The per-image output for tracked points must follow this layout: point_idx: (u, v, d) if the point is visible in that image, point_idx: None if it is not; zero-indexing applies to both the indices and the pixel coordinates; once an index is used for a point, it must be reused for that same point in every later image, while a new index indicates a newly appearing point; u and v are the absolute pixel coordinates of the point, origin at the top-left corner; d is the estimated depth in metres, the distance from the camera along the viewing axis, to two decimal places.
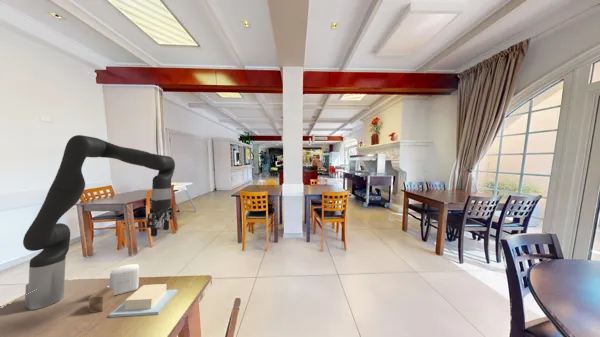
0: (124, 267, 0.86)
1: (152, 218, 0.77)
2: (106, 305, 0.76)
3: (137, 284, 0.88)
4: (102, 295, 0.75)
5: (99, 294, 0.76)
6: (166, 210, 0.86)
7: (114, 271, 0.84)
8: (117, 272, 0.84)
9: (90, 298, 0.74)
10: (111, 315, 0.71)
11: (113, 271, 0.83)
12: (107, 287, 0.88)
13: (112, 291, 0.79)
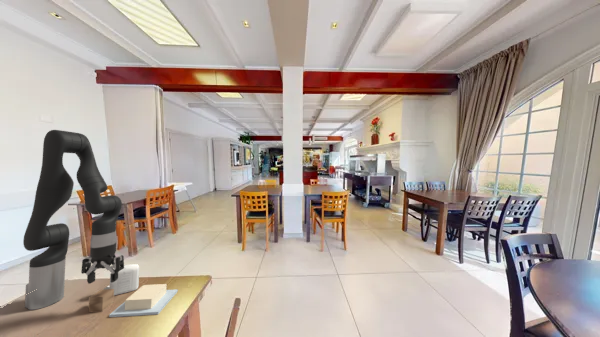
0: (124, 267, 0.86)
1: (122, 260, 0.78)
2: (106, 305, 0.76)
3: (137, 284, 0.88)
4: (102, 295, 0.75)
5: (99, 294, 0.76)
6: None
7: None
8: None
9: (90, 298, 0.74)
10: (111, 315, 0.71)
11: None
12: (107, 287, 0.88)
13: (112, 291, 0.79)
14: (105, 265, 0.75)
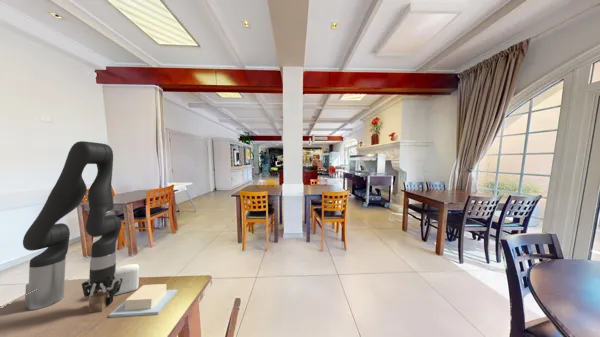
0: (124, 267, 0.86)
1: (120, 283, 0.78)
2: None
3: (137, 284, 0.88)
4: (102, 295, 0.75)
5: (99, 294, 0.76)
6: None
7: None
8: (117, 272, 0.84)
9: (90, 298, 0.74)
10: (111, 315, 0.71)
11: None
12: None
13: None
14: (103, 287, 0.75)
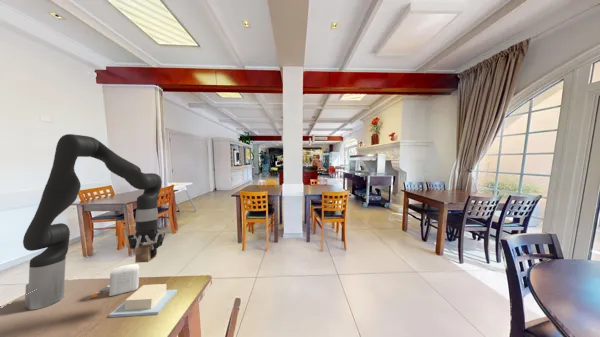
0: (124, 267, 0.86)
1: (163, 237, 0.81)
2: None
3: (137, 284, 0.88)
4: (147, 247, 0.78)
5: (144, 246, 0.78)
6: None
7: (114, 271, 0.84)
8: (117, 272, 0.84)
9: (136, 249, 0.76)
10: (111, 315, 0.71)
11: (113, 271, 0.83)
12: (107, 286, 0.88)
13: None
14: (148, 240, 0.78)
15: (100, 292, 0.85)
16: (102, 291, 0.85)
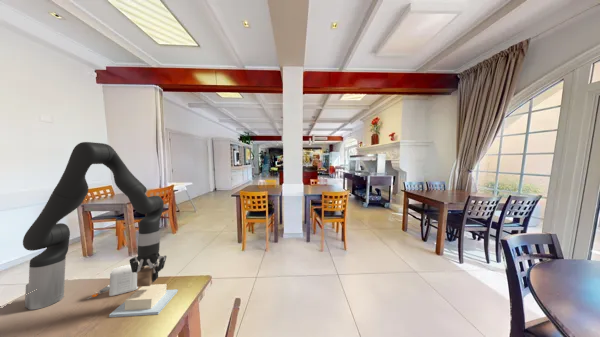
0: (124, 267, 0.86)
1: (165, 260, 0.81)
2: None
3: None
4: (149, 270, 0.78)
5: (145, 270, 0.78)
6: None
7: (114, 271, 0.84)
8: (117, 272, 0.84)
9: (138, 273, 0.77)
10: (111, 315, 0.71)
11: (113, 271, 0.83)
12: (107, 286, 0.88)
13: None
14: (150, 263, 0.78)
15: (100, 292, 0.85)
16: (102, 291, 0.86)
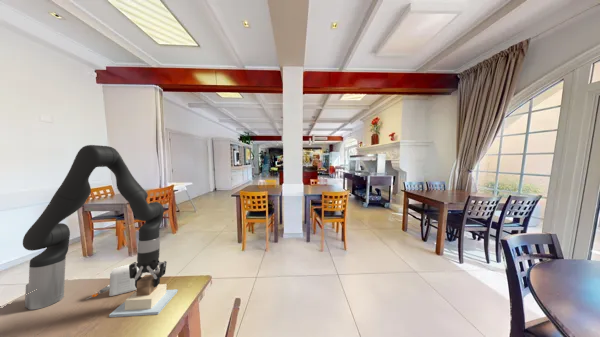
0: (124, 267, 0.86)
1: (165, 266, 0.81)
2: (152, 289, 0.79)
3: None
4: (148, 279, 0.78)
5: (145, 279, 0.78)
6: None
7: (114, 271, 0.84)
8: (117, 272, 0.84)
9: (138, 282, 0.77)
10: (111, 315, 0.71)
11: (113, 271, 0.83)
12: (108, 286, 0.88)
13: None
14: (150, 270, 0.78)
15: (100, 292, 0.85)
16: (102, 291, 0.86)
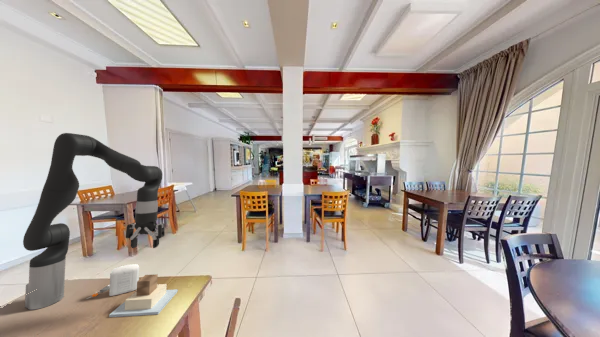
0: (124, 267, 0.86)
1: (163, 227, 0.81)
2: (152, 289, 0.79)
3: None
4: (148, 279, 0.78)
5: (145, 279, 0.78)
6: None
7: (114, 271, 0.84)
8: (117, 272, 0.84)
9: (138, 282, 0.77)
10: (111, 315, 0.71)
11: (113, 271, 0.83)
12: (108, 286, 0.89)
13: (156, 276, 0.81)
14: (148, 231, 0.78)
15: (100, 291, 0.85)
16: (102, 290, 0.86)
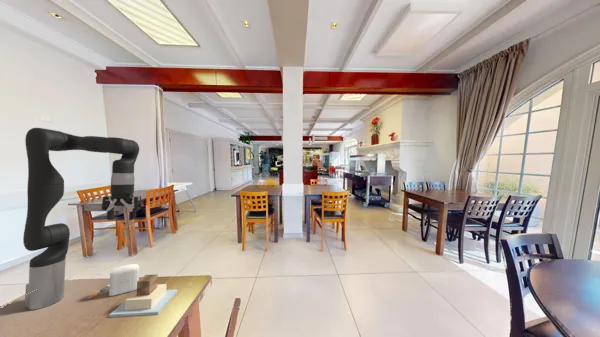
0: (124, 267, 0.86)
1: (140, 200, 0.82)
2: (152, 289, 0.79)
3: None
4: (148, 279, 0.78)
5: (145, 279, 0.78)
6: None
7: (114, 271, 0.84)
8: (117, 272, 0.84)
9: (138, 282, 0.77)
10: (111, 315, 0.71)
11: (113, 271, 0.83)
12: (108, 286, 0.89)
13: (156, 276, 0.81)
14: (124, 203, 0.79)
15: (100, 291, 0.85)
16: (102, 290, 0.86)
